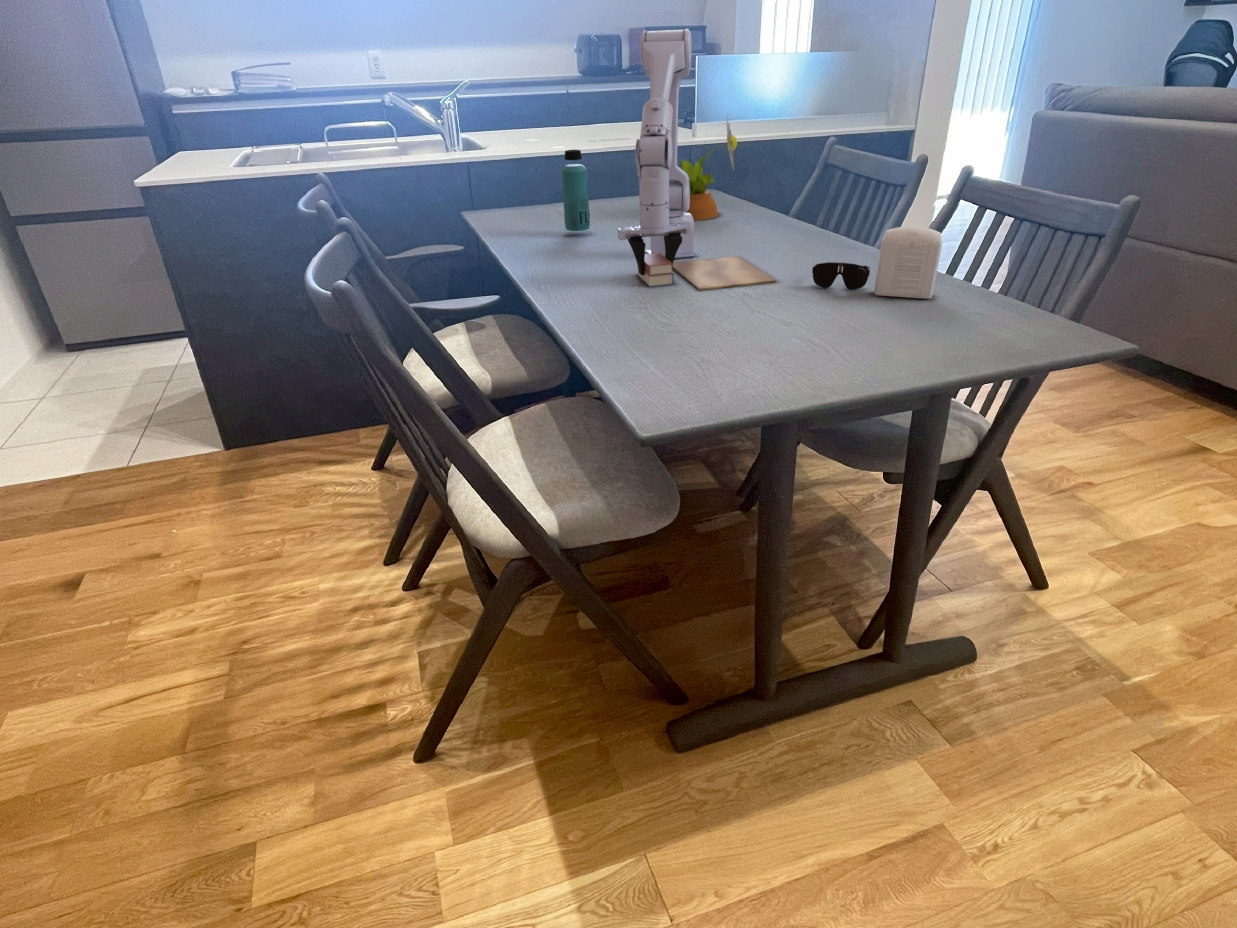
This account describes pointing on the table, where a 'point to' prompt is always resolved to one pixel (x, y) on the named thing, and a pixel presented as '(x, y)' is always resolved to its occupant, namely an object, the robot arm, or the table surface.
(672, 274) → the book stack
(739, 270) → the cork mat
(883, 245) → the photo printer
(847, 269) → the sunglasses
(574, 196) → the beverage bottle
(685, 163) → the decorative plant
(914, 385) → the table surface
